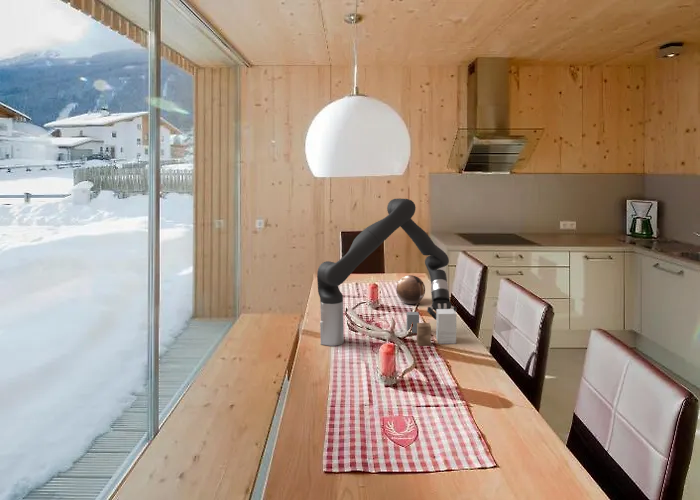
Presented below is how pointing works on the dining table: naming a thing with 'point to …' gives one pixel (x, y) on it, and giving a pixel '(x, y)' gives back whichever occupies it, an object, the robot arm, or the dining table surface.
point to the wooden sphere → (410, 289)
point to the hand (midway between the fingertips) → (443, 327)
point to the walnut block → (423, 334)
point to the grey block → (412, 318)
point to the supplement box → (446, 326)
